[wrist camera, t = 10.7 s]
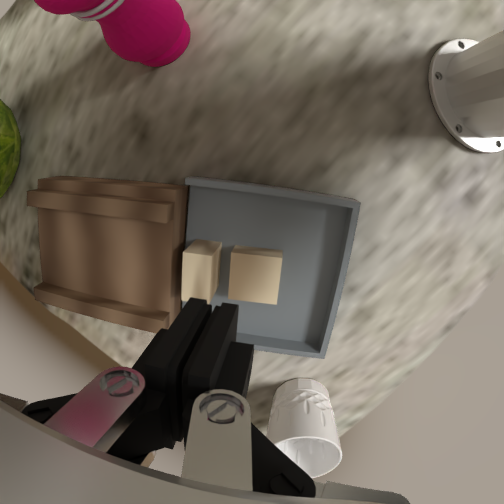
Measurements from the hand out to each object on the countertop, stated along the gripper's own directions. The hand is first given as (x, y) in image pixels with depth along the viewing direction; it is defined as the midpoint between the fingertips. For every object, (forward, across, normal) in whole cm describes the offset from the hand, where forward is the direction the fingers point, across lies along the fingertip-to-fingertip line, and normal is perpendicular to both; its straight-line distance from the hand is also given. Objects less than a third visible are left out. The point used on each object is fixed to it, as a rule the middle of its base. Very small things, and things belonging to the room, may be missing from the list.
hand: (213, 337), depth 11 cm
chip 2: (+17, 0, +5) cm, 18 cm away
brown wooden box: (+20, +16, +4) cm, 26 cm away
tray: (+20, 0, +5) cm, 21 cm away
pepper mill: (+21, +12, -18) cm, 30 cm away
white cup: (+20, -7, +21) cm, 30 cm away
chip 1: (+17, +6, +5) cm, 19 cm away
